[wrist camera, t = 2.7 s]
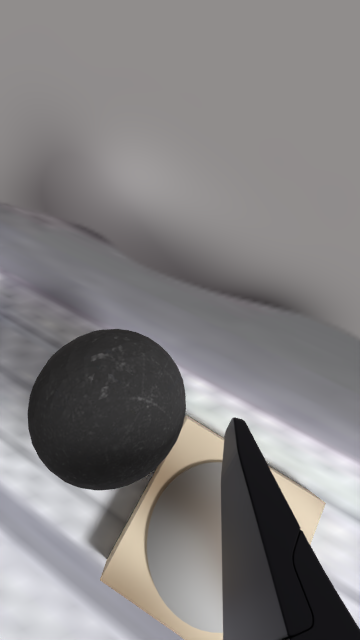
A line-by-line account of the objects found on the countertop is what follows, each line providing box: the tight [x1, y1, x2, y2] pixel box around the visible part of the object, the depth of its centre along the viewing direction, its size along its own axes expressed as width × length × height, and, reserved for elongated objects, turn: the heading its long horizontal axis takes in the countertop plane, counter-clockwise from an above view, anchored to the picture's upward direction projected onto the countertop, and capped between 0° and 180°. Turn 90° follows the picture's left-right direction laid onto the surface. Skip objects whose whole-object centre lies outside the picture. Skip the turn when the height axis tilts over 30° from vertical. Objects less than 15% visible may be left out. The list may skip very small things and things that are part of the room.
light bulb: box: [28, 329, 186, 490], centre depth 12 cm, size 6×6×10 cm
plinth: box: [100, 415, 326, 640], centre depth 14 cm, size 9×9×2 cm
